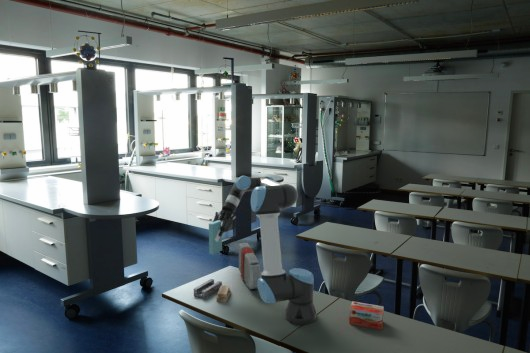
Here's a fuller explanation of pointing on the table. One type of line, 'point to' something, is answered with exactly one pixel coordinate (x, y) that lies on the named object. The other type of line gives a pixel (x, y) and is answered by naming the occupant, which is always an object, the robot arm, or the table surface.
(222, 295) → the block
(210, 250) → the teal board
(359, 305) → the medicine box
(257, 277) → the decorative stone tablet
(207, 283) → the board rack
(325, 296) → the table surface
